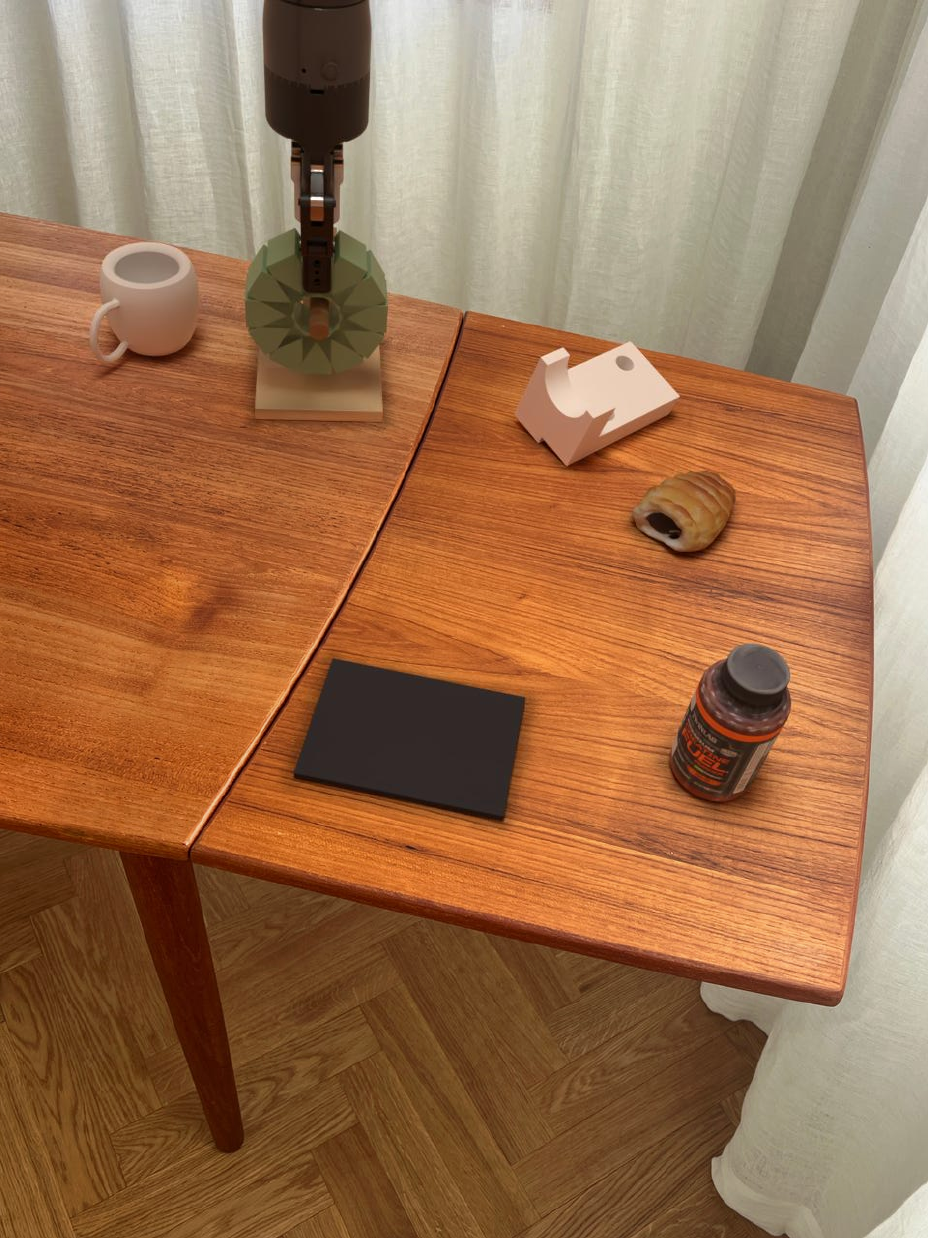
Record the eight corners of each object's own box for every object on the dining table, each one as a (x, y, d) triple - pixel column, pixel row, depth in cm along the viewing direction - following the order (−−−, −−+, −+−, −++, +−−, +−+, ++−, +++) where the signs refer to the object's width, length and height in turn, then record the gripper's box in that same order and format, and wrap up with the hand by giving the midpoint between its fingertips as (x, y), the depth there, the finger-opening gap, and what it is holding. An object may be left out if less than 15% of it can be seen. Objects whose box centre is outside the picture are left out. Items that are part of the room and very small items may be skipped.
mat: (293, 777, 73) (293, 772, 72) (332, 663, 80) (332, 657, 79) (502, 821, 72) (503, 816, 72) (524, 702, 79) (525, 696, 78)
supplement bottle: (650, 770, 76) (691, 666, 68) (695, 719, 79) (740, 614, 71) (725, 822, 74) (777, 721, 65) (768, 767, 77) (823, 664, 69)
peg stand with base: (382, 425, 97) (388, 312, 89) (255, 423, 96) (248, 307, 87) (377, 340, 106) (382, 228, 97) (260, 336, 104) (255, 223, 96)
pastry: (686, 473, 97) (697, 439, 94) (751, 513, 95) (764, 479, 92) (623, 524, 92) (633, 490, 89) (690, 567, 89) (703, 534, 87)
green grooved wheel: (383, 376, 97) (391, 256, 88) (248, 372, 95) (242, 249, 87) (382, 349, 99) (389, 230, 91) (250, 344, 98) (244, 222, 89)
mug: (151, 302, 106) (141, 226, 100) (222, 334, 104) (216, 259, 98) (60, 362, 99) (44, 284, 93) (135, 398, 97) (123, 320, 91)
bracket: (562, 472, 97) (593, 418, 91) (514, 414, 99) (540, 357, 92) (664, 420, 103) (699, 366, 97) (616, 366, 105) (647, 309, 99)
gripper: (266, 13, 82) (273, 227, 95) (259, 99, 73) (267, 323, 86) (368, 21, 83) (361, 231, 96) (373, 106, 74) (365, 326, 87)
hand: (317, 273), depth 91 cm, fingers closed on green grooved wheel, 4 cm apart
